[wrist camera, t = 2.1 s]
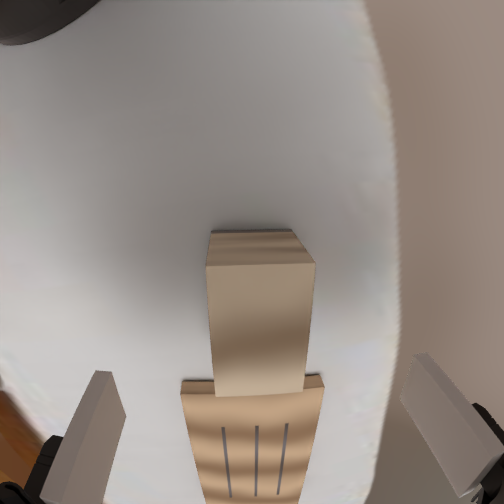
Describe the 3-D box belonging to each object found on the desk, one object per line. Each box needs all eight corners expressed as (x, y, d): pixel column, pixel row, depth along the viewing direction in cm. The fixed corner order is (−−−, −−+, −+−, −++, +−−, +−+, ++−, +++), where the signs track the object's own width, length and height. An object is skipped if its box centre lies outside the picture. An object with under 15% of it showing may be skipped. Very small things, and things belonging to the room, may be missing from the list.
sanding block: (211, 231, 20) (205, 266, 14) (291, 229, 20) (315, 262, 15) (217, 339, 23) (215, 396, 17) (285, 336, 23) (302, 391, 17)
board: (182, 381, 23) (180, 394, 22) (320, 375, 24) (324, 386, 23) (208, 500, 31) (208, 510, 29) (295, 495, 31) (297, 504, 30)
